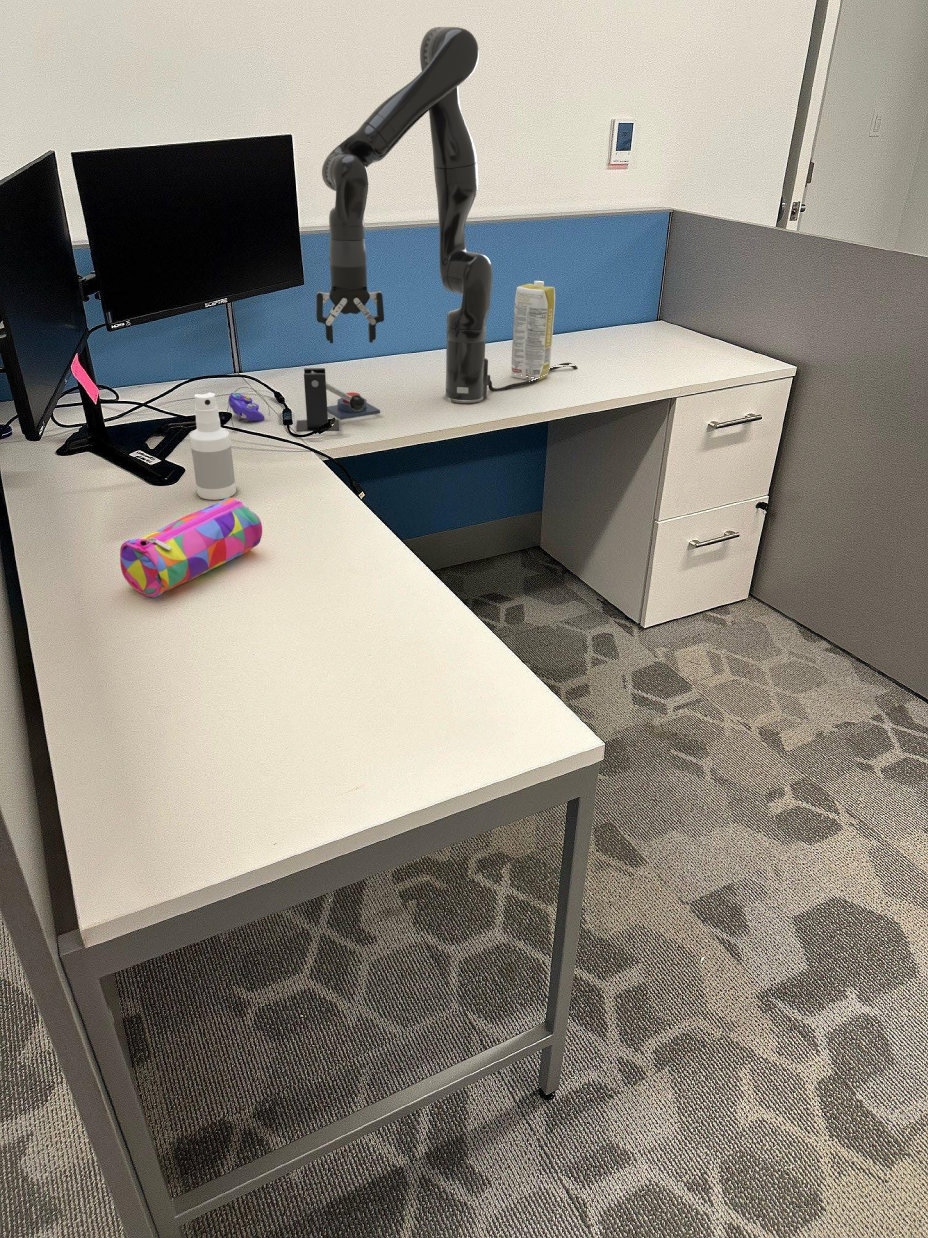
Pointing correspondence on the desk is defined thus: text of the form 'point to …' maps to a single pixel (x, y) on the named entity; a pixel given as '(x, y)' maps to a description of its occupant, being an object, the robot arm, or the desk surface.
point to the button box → (350, 410)
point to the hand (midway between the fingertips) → (351, 342)
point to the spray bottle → (211, 451)
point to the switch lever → (348, 397)
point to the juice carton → (532, 330)
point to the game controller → (244, 407)
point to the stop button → (351, 396)
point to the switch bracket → (315, 402)
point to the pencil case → (189, 547)
